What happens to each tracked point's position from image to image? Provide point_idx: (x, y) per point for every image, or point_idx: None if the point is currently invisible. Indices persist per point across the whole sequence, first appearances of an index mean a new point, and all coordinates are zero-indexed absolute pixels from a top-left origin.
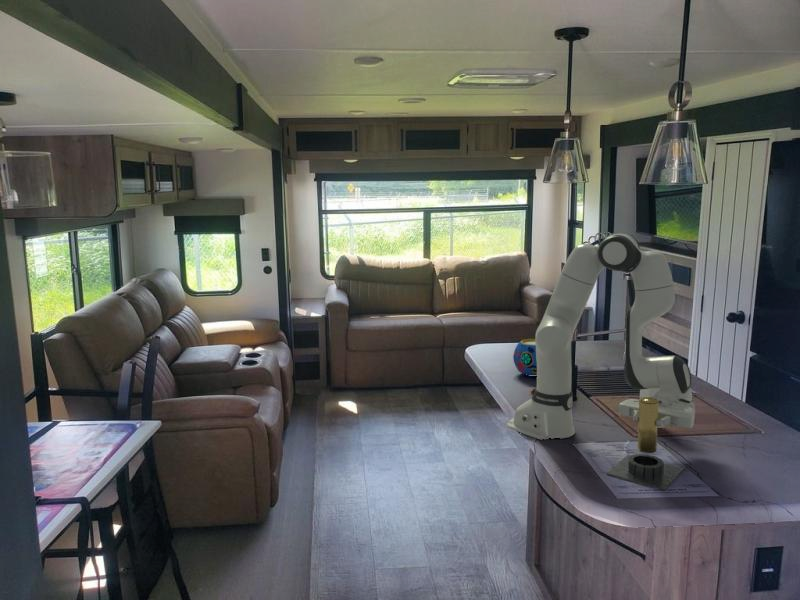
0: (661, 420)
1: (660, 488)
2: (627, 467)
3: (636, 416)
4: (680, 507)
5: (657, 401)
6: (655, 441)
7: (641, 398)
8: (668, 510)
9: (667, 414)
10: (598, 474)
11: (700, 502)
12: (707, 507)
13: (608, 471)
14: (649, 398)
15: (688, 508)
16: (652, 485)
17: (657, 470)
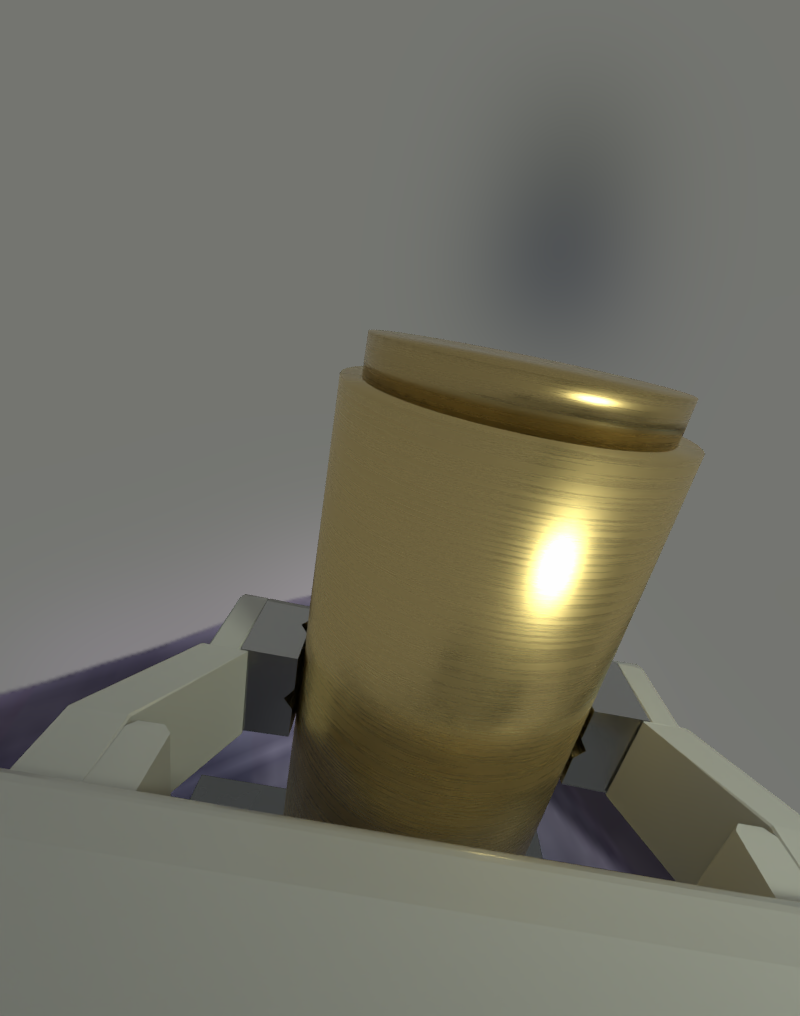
0: (248, 596)
1: (225, 780)
2: None
3: None
4: (151, 662)
5: (375, 394)
6: None
7: (655, 386)
8: (206, 632)
9: (83, 785)
10: (563, 820)
11: (23, 732)
12: (8, 699)
13: (540, 858)
14: (558, 372)
15: (116, 665)
16: (270, 787)
17: None
